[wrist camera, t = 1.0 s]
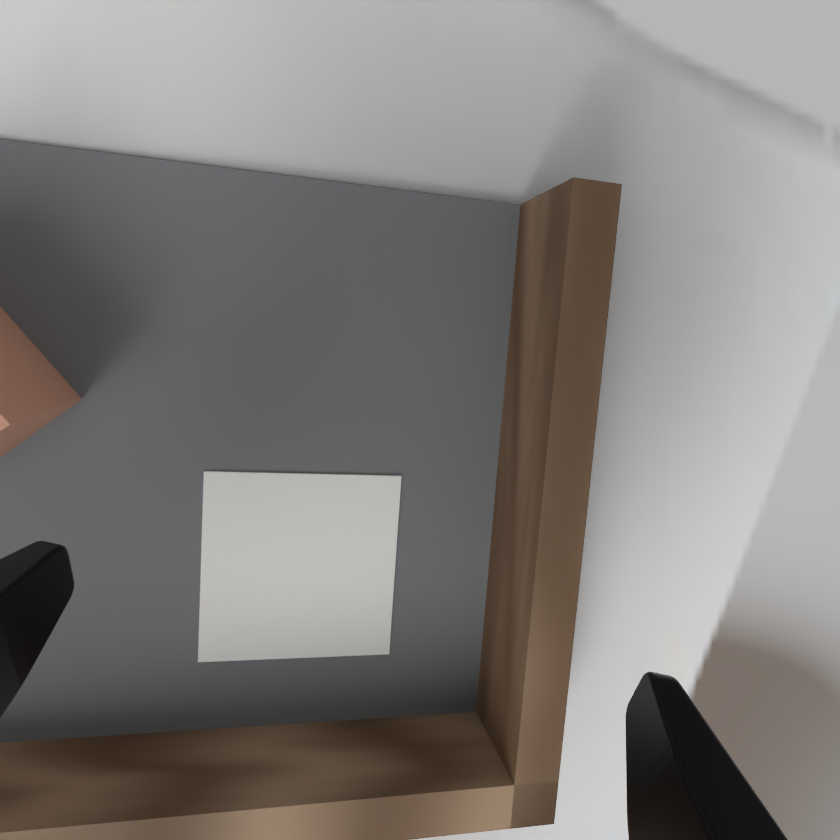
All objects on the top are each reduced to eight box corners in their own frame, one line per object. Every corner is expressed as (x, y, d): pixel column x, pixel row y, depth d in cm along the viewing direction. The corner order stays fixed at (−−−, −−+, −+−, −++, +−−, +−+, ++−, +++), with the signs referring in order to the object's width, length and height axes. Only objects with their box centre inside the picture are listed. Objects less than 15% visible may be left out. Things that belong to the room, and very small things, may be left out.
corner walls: (-246, 804, 19) (-378, 925, 15) (-288, 102, 17) (-458, 33, 13) (510, 746, 25) (553, 823, 21) (560, 210, 22) (621, 184, 18)
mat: (-238, 797, 19) (-248, 807, 19) (-278, 106, 17) (-291, 101, 17) (507, 741, 25) (510, 747, 24) (557, 211, 22) (562, 209, 22)
